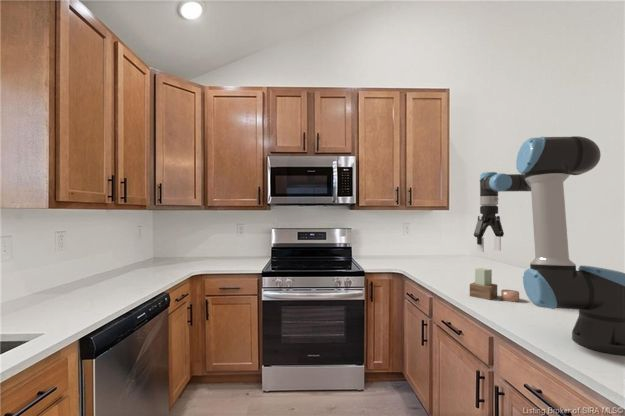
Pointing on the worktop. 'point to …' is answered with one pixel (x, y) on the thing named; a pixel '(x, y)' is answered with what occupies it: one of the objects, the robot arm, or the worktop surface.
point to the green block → (483, 276)
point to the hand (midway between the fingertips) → (489, 251)
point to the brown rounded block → (510, 295)
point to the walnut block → (483, 291)
